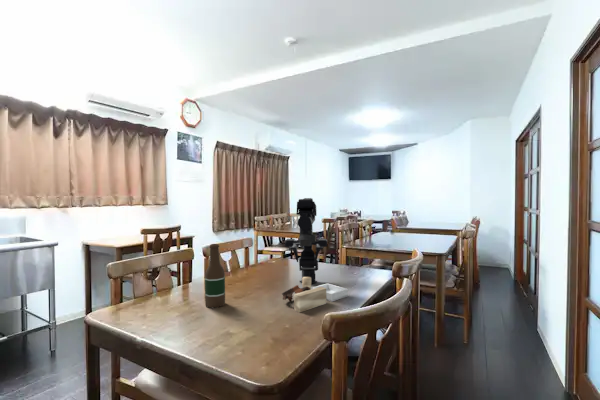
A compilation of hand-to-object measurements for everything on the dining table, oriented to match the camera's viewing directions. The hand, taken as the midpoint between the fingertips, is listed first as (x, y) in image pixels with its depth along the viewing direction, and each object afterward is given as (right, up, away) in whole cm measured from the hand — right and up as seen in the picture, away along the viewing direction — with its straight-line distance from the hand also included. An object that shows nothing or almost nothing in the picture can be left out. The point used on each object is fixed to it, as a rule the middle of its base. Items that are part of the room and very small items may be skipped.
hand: (306, 262), depth 139 cm
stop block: (+1, -13, -19) cm, 23 cm away
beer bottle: (-36, -14, -16) cm, 42 cm away
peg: (0, -13, 0) cm, 13 cm away
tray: (+10, -13, -6) cm, 17 cm away
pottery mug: (-4, -14, -15) cm, 21 cm away
